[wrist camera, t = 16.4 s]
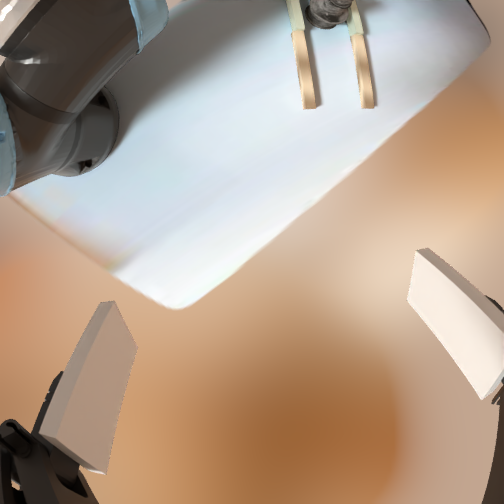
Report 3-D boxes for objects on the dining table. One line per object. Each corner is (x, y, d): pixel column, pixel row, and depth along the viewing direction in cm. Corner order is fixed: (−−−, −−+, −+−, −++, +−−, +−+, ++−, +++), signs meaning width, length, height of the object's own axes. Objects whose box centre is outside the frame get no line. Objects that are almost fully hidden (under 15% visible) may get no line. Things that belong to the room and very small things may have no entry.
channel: (369, 108, 35) (374, 108, 34) (303, 109, 35) (305, 108, 33) (358, 37, 29) (362, 35, 28) (290, 33, 29) (293, 30, 28)
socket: (356, 37, 29) (363, 33, 27) (292, 33, 29) (296, 28, 27) (345, -6, 25) (351, -12, 23) (283, -11, 25) (286, -18, 23)
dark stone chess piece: (323, -4, 26) (353, -36, 15) (347, 23, 28) (384, -3, 18) (295, 9, 27) (319, -26, 16) (320, 36, 30) (352, 9, 19)
